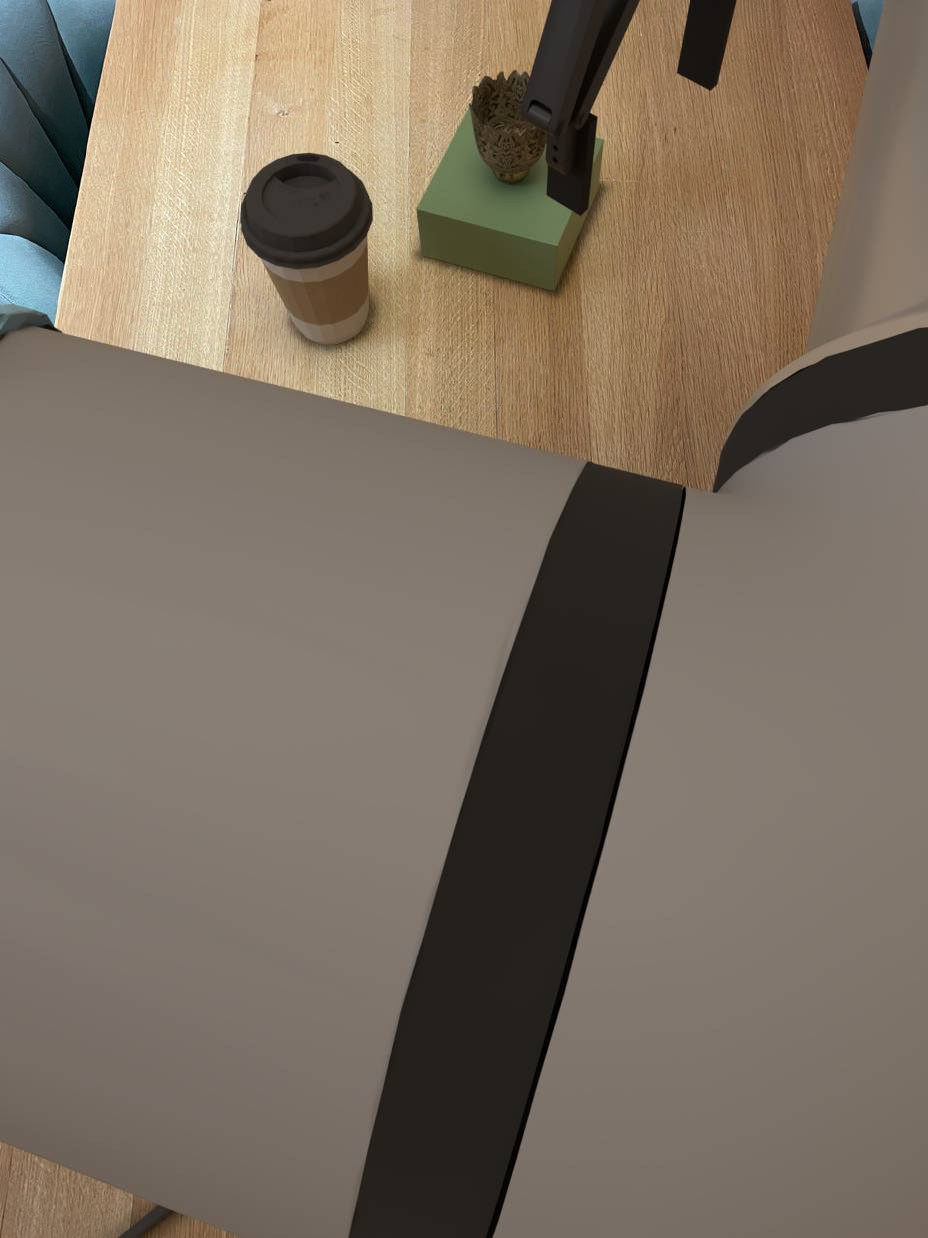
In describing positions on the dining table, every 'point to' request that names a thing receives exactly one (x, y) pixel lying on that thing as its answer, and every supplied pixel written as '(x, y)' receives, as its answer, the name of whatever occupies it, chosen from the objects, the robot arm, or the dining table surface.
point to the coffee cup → (313, 242)
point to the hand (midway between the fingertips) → (633, 139)
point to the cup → (505, 127)
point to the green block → (498, 216)
